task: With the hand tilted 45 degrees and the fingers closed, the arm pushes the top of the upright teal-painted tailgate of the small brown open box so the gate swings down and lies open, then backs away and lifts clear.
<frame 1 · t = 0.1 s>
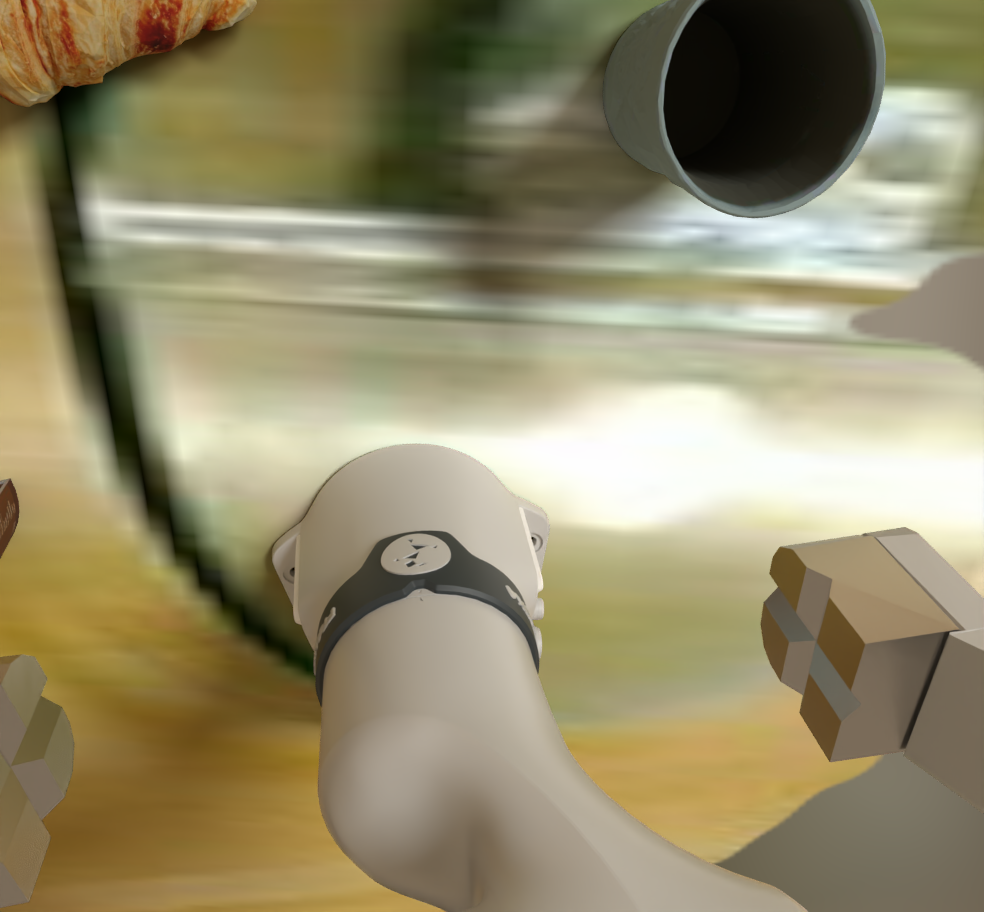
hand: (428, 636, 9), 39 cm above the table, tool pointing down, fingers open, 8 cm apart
gray cup: (670, 86, 44), on the table
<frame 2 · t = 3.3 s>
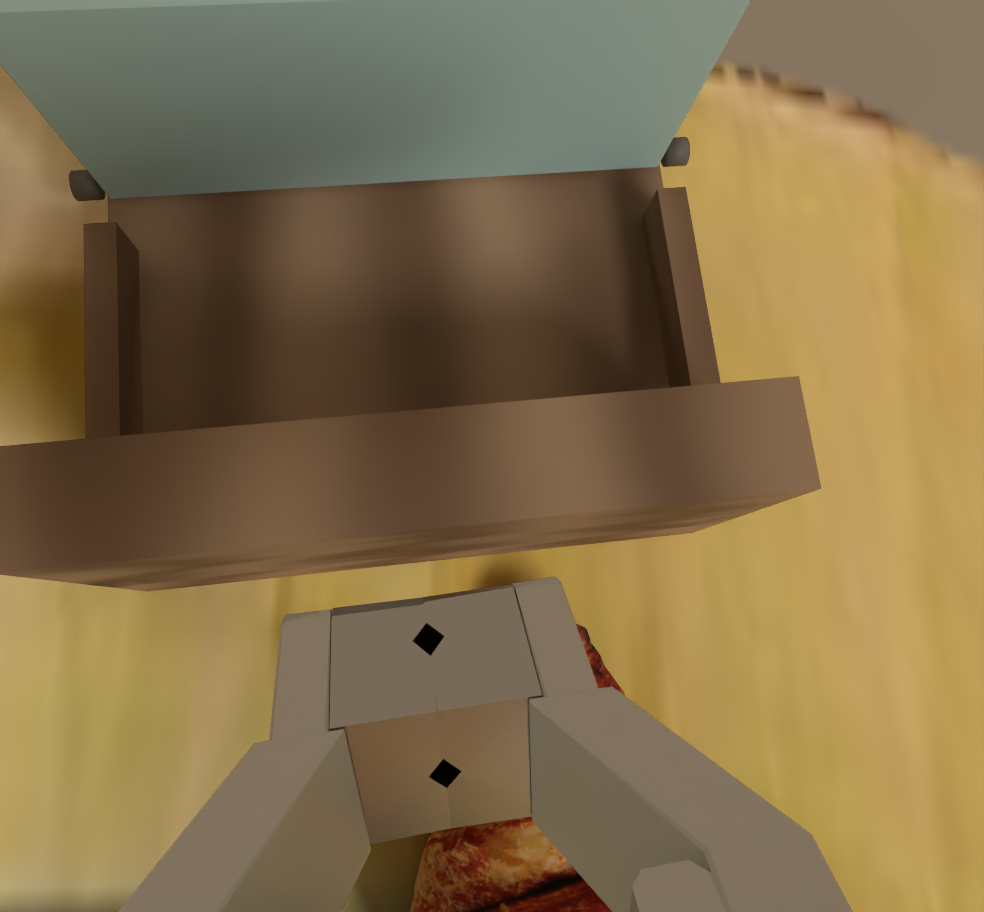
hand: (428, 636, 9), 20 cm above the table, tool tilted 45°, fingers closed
brown open box: (411, 379, 30), on the table
tailgate: (385, 83, 24), point 8 cm above the table, hinge at -3.0°
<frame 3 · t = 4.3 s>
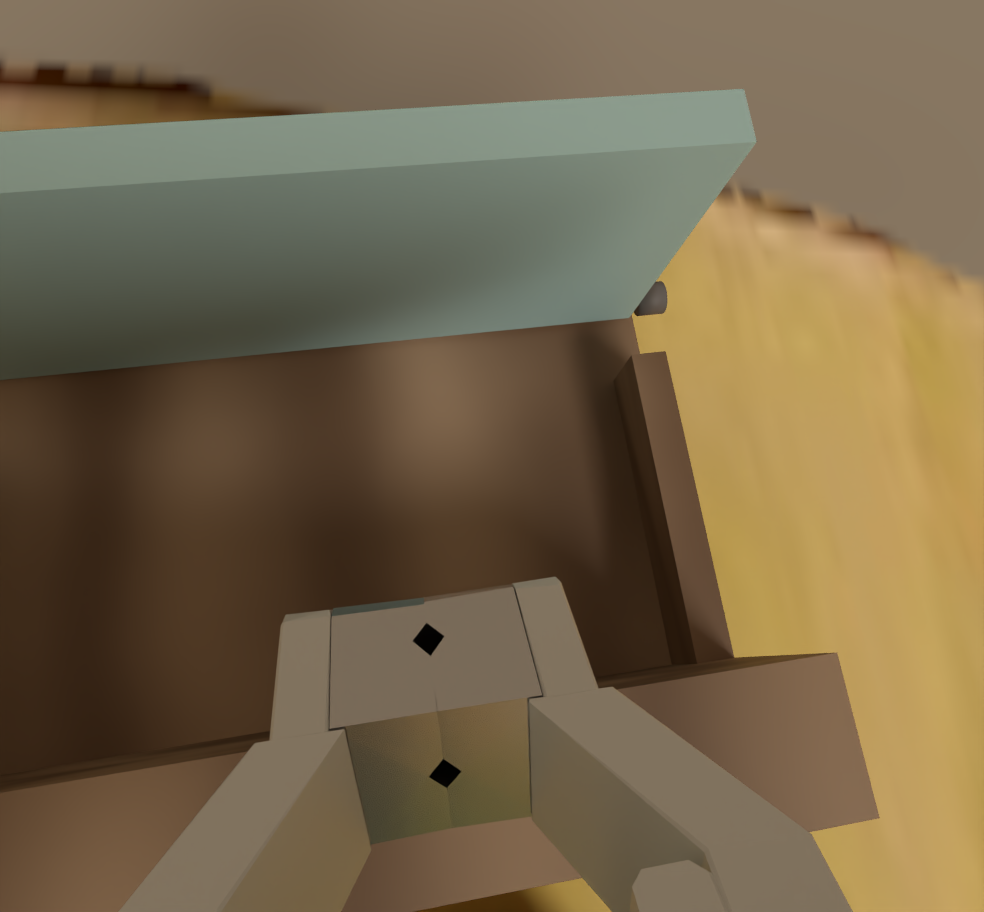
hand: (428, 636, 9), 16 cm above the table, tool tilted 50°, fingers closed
brown open box: (339, 579, 24), on the table
tailgate: (282, 252, 19), point 8 cm above the table, hinge at -3.0°
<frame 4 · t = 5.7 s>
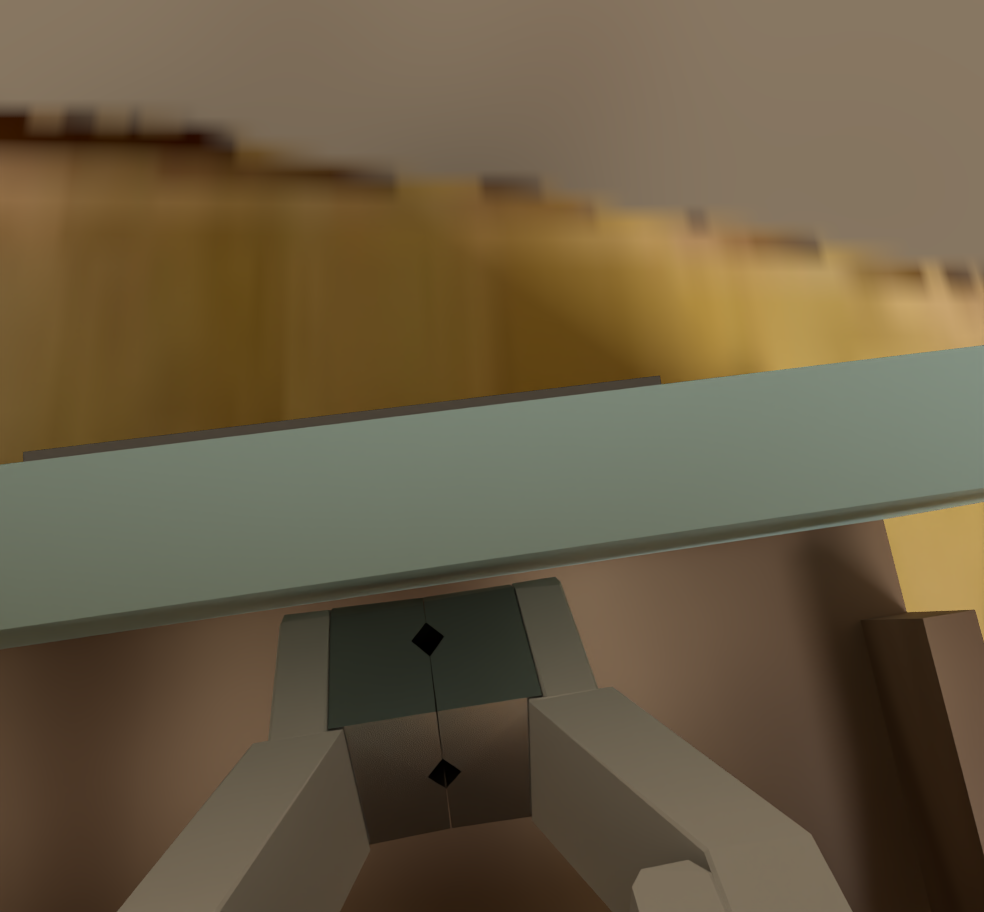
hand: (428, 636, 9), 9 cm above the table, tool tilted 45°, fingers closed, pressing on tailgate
brown open box: (440, 900, 17), on the table
tailgate: (382, 526, 10), point 8 cm above the table, hinge at -2.2°, touching gripper
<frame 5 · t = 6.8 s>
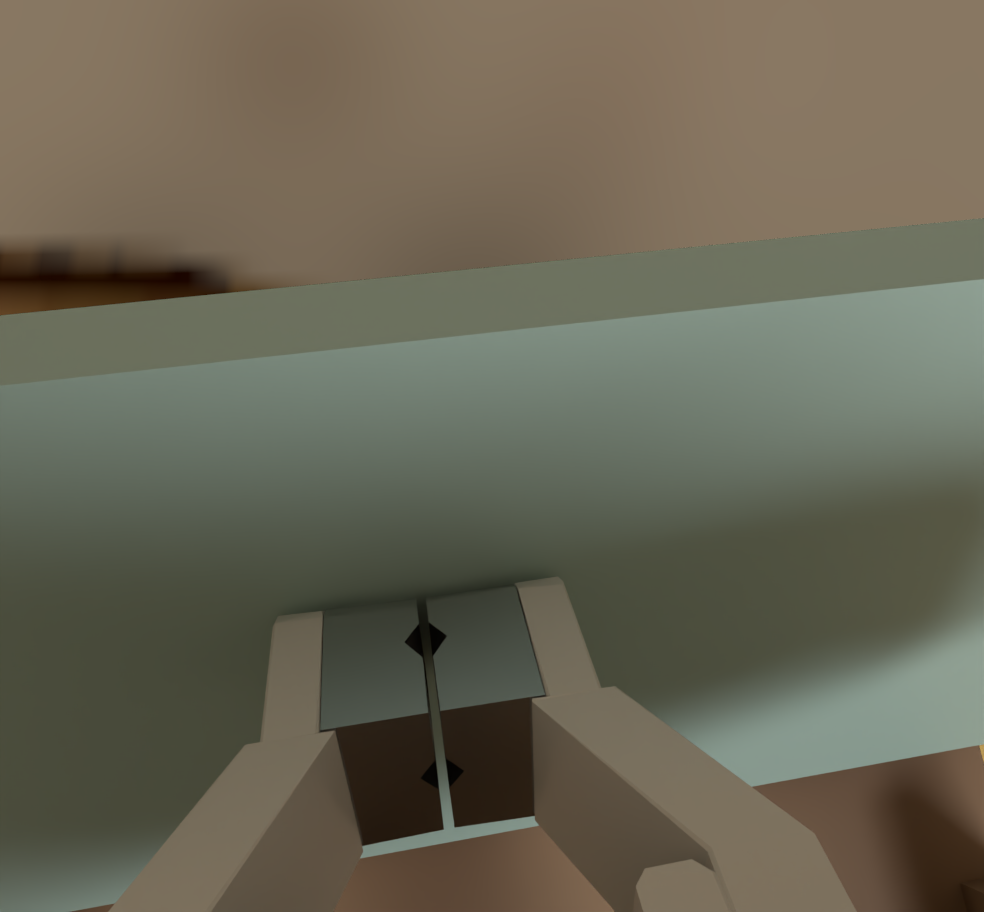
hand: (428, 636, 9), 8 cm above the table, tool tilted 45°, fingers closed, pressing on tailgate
tailgate: (375, 623, 10), point 7 cm above the table, hinge at 37.4°, touching gripper
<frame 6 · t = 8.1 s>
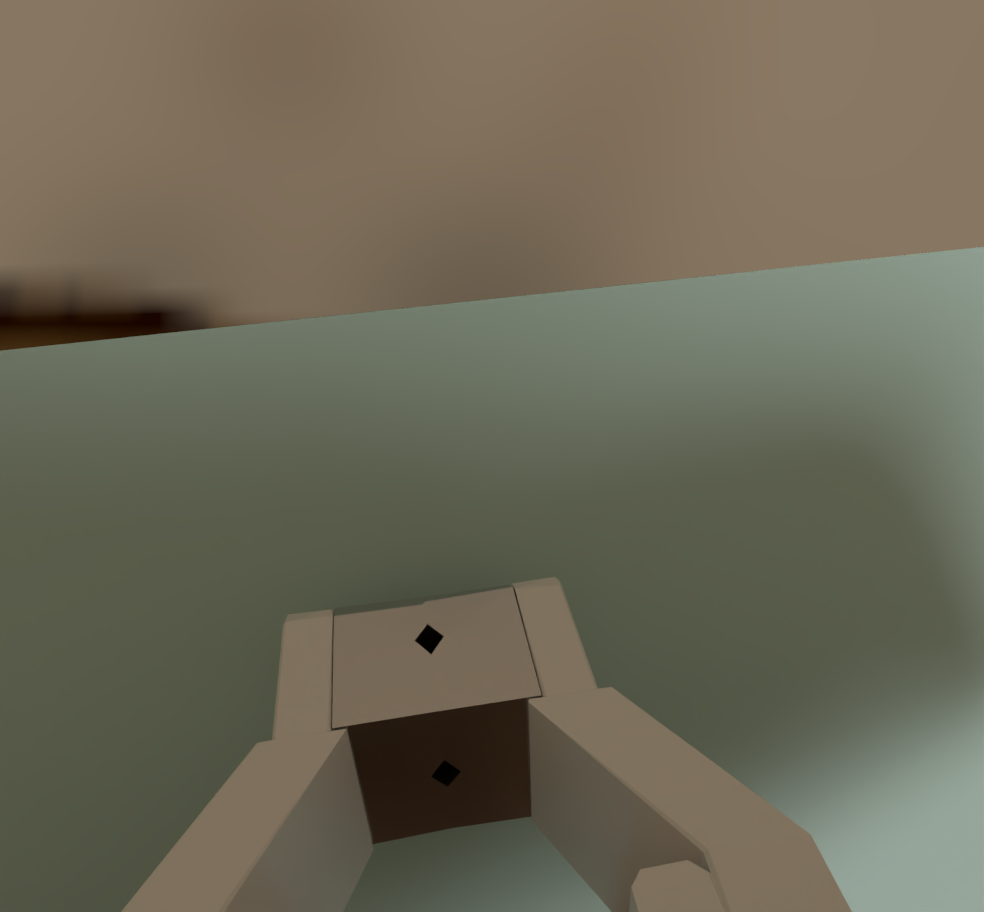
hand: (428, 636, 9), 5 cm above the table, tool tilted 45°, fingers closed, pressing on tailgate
tailgate: (394, 675, 10), point 4 cm above the table, hinge at 78.0°, touching gripper
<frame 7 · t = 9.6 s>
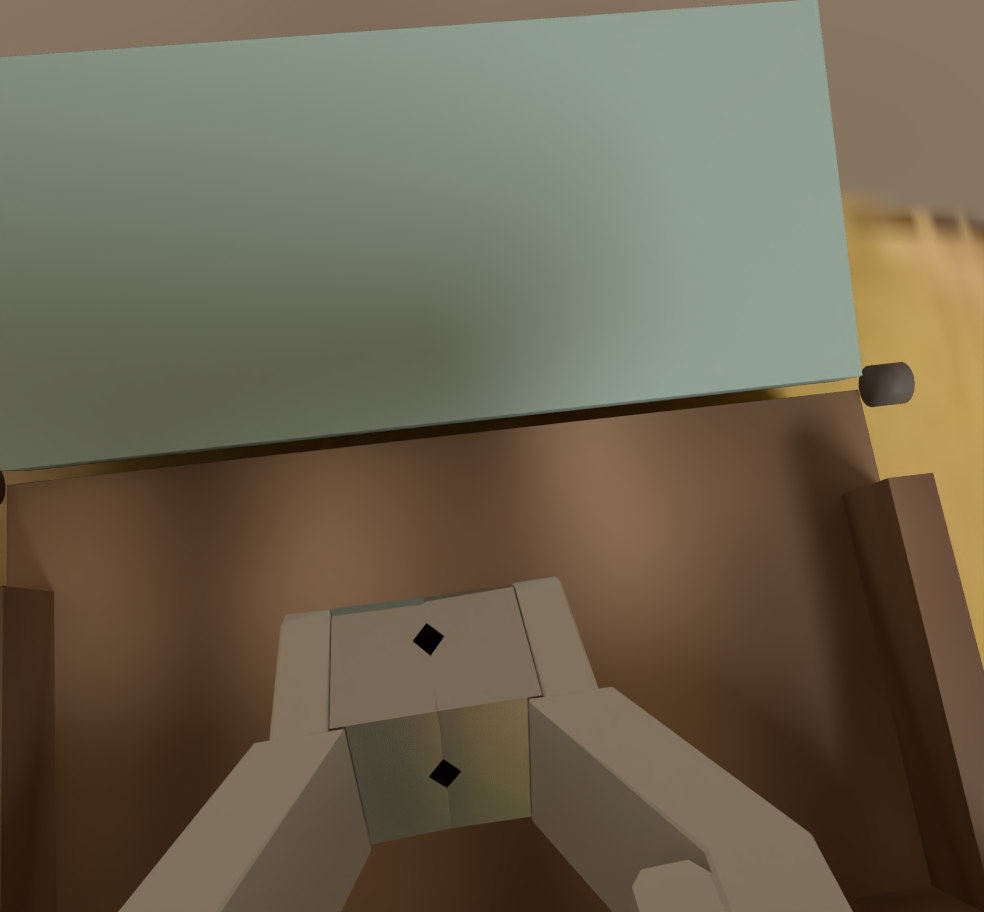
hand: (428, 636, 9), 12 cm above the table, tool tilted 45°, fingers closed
brown open box: (483, 732, 20), on the table
tailgate: (427, 234, 19), point 4 cm above the table, hinge at 78.0°
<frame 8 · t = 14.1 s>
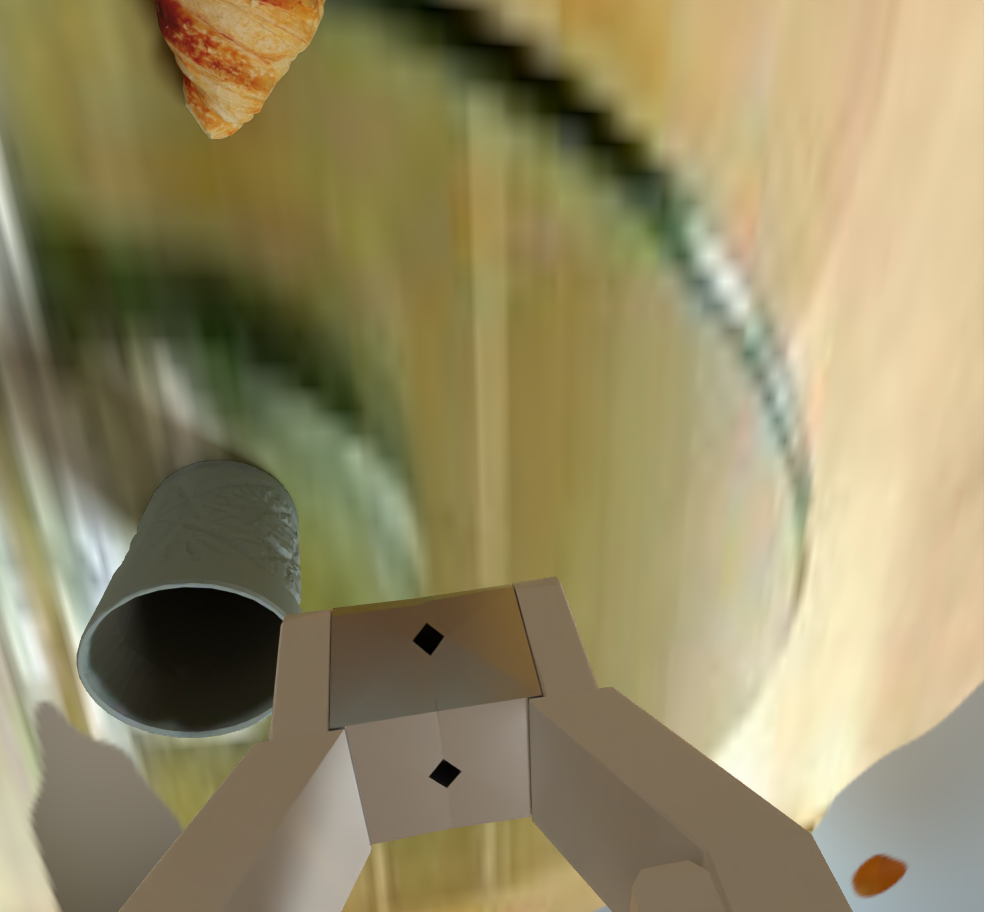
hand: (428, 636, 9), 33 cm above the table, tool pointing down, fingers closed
gray cup: (226, 513, 47), on the table
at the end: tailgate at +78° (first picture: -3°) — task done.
